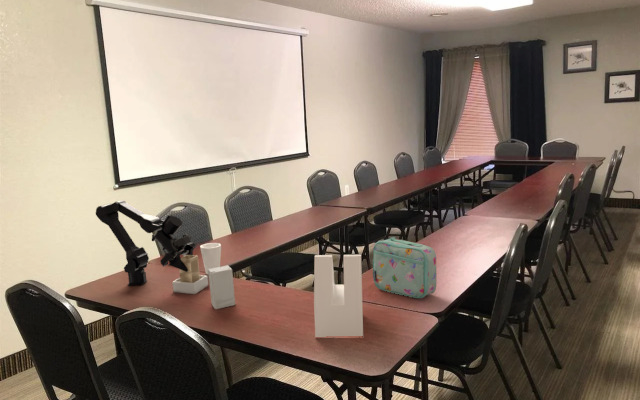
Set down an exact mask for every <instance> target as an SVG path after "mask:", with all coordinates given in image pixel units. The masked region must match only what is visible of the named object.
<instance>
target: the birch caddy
mask: <svg viewBox="0 0 640 400" xmlns="http://www.w3.org/2000/svg"><path fill="white" fill-rule="evenodd" d="M180 259H181V261H182V262H183V263H184V265H185V266H186V267H187V269H188V271H187V272H186V271H183V270H181V269H178V270H179V278H180V282H188V283H194V282H196V281H198V280H199V279H200V275H201V274H200V267H199V265H200V264H199V256H198V255H197V254H196V255H194V254H193V255H185V256H183V255H182V256H180Z"/></svg>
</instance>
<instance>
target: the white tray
mask: <svg viewBox="0 0 640 400" xmlns="http://www.w3.org/2000/svg"><path fill="white" fill-rule="evenodd" d="M199 275H200V279H199V280H198V281H196V282H194V283H188V282H180V277H178V278H176V279H175V280H173V281H172V290H173V293H177V294H178V293H180V294H189V295H196V294H197V293H199V292H201V291H202V290H204V289H205V288H207V287H208V286H209V275H205V274H204V275H203V274H199Z"/></svg>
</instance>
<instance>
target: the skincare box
mask: <svg viewBox="0 0 640 400" xmlns="http://www.w3.org/2000/svg"><path fill="white" fill-rule="evenodd" d="M207 276H208V285H209V292H210V301H211V305H212V307H213V308H214V310H219V309H223V308H226V307H227V308H228V307H232V306H235V305H236V297H235V287H234V276H233V269H232V268H231V267H230V266H229V265H228V264H227V265H222V266H220V267H217V268H212V269H208V274H207Z"/></svg>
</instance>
